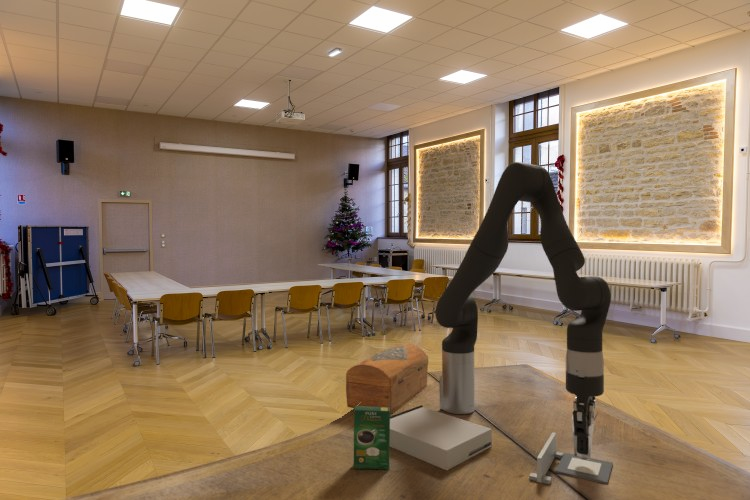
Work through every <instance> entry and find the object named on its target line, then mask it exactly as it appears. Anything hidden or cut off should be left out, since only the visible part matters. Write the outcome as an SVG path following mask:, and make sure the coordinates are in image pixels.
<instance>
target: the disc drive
mask: <svg viewBox="0 0 750 500" xmlns="http://www.w3.org/2000/svg"><path fill="white" fill-rule="evenodd" d="M492 430H493V429H492V428H490V427H487V426H483V425H481V424H477V423H475V422H471V421H468V420H466V419H461V418H458V417H455V416H453V415H449V414H447V413H443V412H440V411H437V410H433V409H430V408H427V407H424V405H419V406H415V407H413V408H411V409H407V410H405V411H402V412H399V413H395V414H394V415H390V446H389V447H391V448H392V449H395V450H397V451H400V452H402V453H404V454H407V455H409V456H412V457H414V458H417V459H419V460H421V461H423V462H425V463H428V464H430V465H433V466H434V467H438V468H441V469H443V470H444V471H449V470H450V469H452V468H454V467H456V466H457V465H460V464H461V463H464V462H466V461H467V460H470V459H471V458H473V457H475V456H476V455H478V454H480V453H483V452H485V451H486V450H488V449H489V448H491V447H493V444H492V442H493V437H492V436H493V433H492V432H493V431H492Z"/></svg>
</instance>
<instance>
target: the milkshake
mask: <svg viewBox="0 0 750 500" xmlns="http://www.w3.org/2000/svg"><path fill="white" fill-rule="evenodd" d="M598 413H599V411H597V412H596V413H595V418H594V419H593V418H592V425H591V426H590V427H589V434H590V436H589V453H588V454H587V455H584V454H579V453H578V452H577V436H575V435H574V420H573V415H572V417H571V428H572V438H573V440H572V441H573V442H572V443H573V451H574V452H573V454H574V456H575V457H576V458H578V459H581V460H588V459H590V458H592V447H593V436H594V435H593V434H594V428H595V420H596V419H597V416H598ZM588 421H589V420H587V422H588ZM579 430H582V431H584V429H583V428H579Z"/></svg>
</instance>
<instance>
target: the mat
mask: <svg viewBox="0 0 750 500" xmlns="http://www.w3.org/2000/svg"><path fill="white" fill-rule="evenodd" d="M612 468H613V462H612V461H608V460H602V459H597V458H594V457H593V458H592V457H591V458H590V459H588V460H581V459H578V458H576V457H575V456H574V453H568V452H563V457H562V459H560V461H559V463H558V464H557V467H556V469H555V473H557V474H560V475H565V476H570V477H574V478H577V479H578V478H579V479H582V480H587V481H592V482H596V483H600V484H604V485H608V484H609V480H610V476H611V474H612V473H611V472H612Z"/></svg>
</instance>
